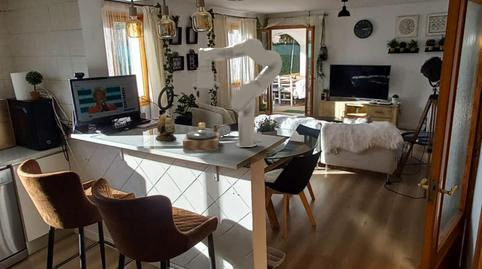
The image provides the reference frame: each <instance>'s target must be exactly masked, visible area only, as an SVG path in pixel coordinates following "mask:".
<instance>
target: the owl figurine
mask: <svg viewBox="0 0 482 269" xmlns="http://www.w3.org/2000/svg"><path fill="white" fill-rule="evenodd" d="M156 129H157V132H158V133H159V134H158V135H156V136H155V140H156V141H158V142H162V141H165V142H166V143H167V142H168V143H169V142H172V141H173V142H174V141H177V140H176V139H178V138H177V137H176V135H174V134H175V133H176V130H175V129H176V127H175V124H174V122H173V118H172V117H167V114H165V113H164V114H161V116H160V117H159V118H158V120H157V121H156ZM165 142H164V143H165Z"/></svg>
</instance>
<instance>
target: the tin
mask: <svg viewBox="0 0 482 269" xmlns="http://www.w3.org/2000/svg"><path fill="white" fill-rule="evenodd" d="M231 130H232V129H231V126H230V125H229V124H226V123H224V124H223V123H222V124H219V125H216V126H215V127H214V129H213V131H214V132H216V133H219V137H221V136H224V135H227V134H229V135H231Z"/></svg>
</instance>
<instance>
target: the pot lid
mask: <svg viewBox="0 0 482 269" xmlns="http://www.w3.org/2000/svg"><path fill="white" fill-rule="evenodd" d="M197 124H198V130H193V131H189V132H187V133H186V134H185V136H186V137H187V138H189V139H210V138H214V137H216V136H217V135H216V132H214V130H206V122H199V123H197Z"/></svg>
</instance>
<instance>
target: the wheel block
mask: <svg viewBox="0 0 482 269" xmlns="http://www.w3.org/2000/svg"><path fill="white" fill-rule="evenodd" d="M216 135H217V136H216V137H214V138H210V139H189V138H187V137H186V135H185V136H184V138H183V139H182V151H183V152H193V151H194V152H197V151H196V150H209V151H214V150H213V149H218V150H219V146H218V144H220V138H219V133H216Z"/></svg>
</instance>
